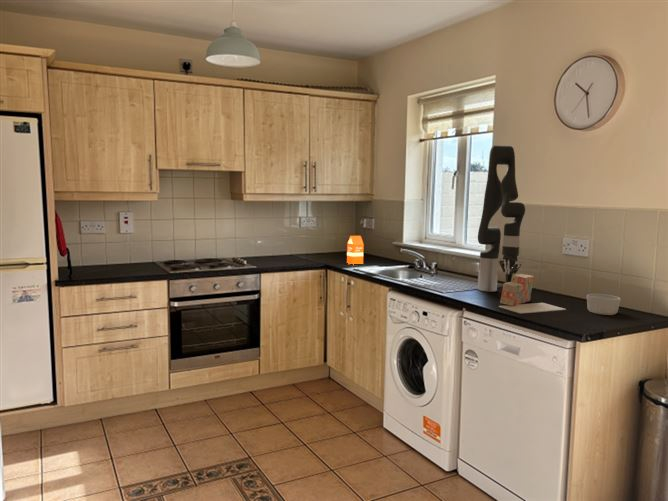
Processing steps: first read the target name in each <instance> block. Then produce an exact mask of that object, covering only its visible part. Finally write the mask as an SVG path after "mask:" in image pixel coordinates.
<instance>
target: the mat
mask: <svg viewBox="0 0 668 501" xmlns="http://www.w3.org/2000/svg"><path fill="white" fill-rule="evenodd" d="M498 308H501V309H504V310H508V311H511V312H514V313H517V314H532V313H545V312H546V313H547V312H557V311H566V310H567V309H566V308H564V307H559V306H556V305H552V304H549V303H545V302H537V303H536V302H534V303H533V302H532V303H521V304H518V305H514V306H511V305H507V304H504V305H498Z"/></svg>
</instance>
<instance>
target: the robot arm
mask: <svg viewBox="0 0 668 501" xmlns="http://www.w3.org/2000/svg"><path fill="white" fill-rule="evenodd" d="M499 165H500V166H501V165H502V166H503V165H505V166H506V167H507V169H506V172H505V174H504V176H503V177H502V179H501V180H500V178H499V176H498V171H497V170H498V169H497V168H498V166H499ZM487 168H488V171H487V179H486V184H485V191H484V197H483V205H482V206H483V207H482V214H481V218H480V223H479V227H478V233H477V241H478V244H480V245H483V246H484V245H485V246H486V245H490V246H489V248H487V249H485V250H482V251H481V252H480V253H479V268H478V269H479V270H478V271H477V272H478V273H477V290H479V291H481V292H489V293H490V292H491V293H492V292H497V291H498V290H497V289H498V271H499V265H500V268H501V269H502V272H503V273H505V283H507V282H511V279H512V275H516V273H517V272H518V271H519V269H520V268H521V266H522V264H521V263H519V262H518V261H519V260H518V256H520V247H521V246H520V243H521V240H520V234H521V233H520V232H521V224H522V222H523V220H524V217H525V214H526V207H525V204H524V203H523V202H519V201H517V202H516V200H517V199H518V197H519V191H518V187H517V186H518V185H517V182H516V154H515V150H514V147H513V146H511V145H500V144H499V145H491V148H490V150H489V158H488V167H487ZM514 201H515V202H514ZM499 210H500V214H501V215H502V216H503V217H504V218H510V219H511V218H514V220H513V221H510V222H506V223H504V226H503V237H502V233H501V232H502V230H501V229H500V228H499V227H498V226H489V224H490V222H491V220H492V218H493V217H494V216H495V214H496V213H498V211H499ZM501 238H502V245H501ZM501 246H502V250H501V256H503V257H502V260H499V255H500V248H501Z"/></svg>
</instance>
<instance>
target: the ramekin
mask: <svg viewBox="0 0 668 501" xmlns="http://www.w3.org/2000/svg"><path fill="white" fill-rule="evenodd" d="M621 299H622V298H621V297H619V296H615V295H612V294H611V295H610V294H605V293H588V294H586V304H587V307H586V308H587V310H588V311H589V312H590V313H593V314H598V315H604V316H605V315H606V316H607V315H608V316H613V315H616V314H617V313H618V311H619V309H620V308H619V307H620V304H621V303H620V302H622V300H621Z"/></svg>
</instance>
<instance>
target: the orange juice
mask: <svg viewBox="0 0 668 501" xmlns="http://www.w3.org/2000/svg"><path fill="white" fill-rule="evenodd" d="M364 245H365V244H364V241H363V238H362V236H361V235H349V239H348V241H347V245H346V246H347V248H346V264H347V263H348V264H347V265H350V264H353V265H352V266H355V265H354V264H363V265H364Z"/></svg>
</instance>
